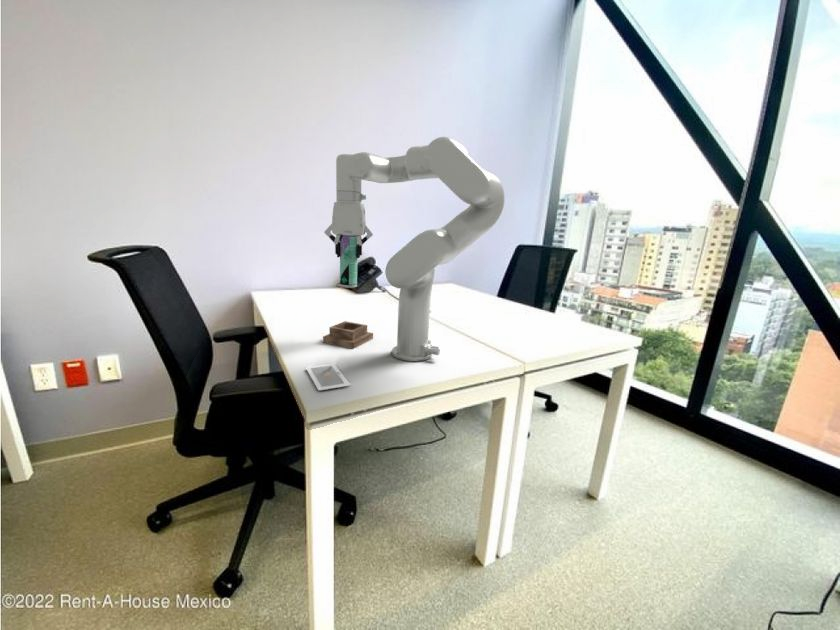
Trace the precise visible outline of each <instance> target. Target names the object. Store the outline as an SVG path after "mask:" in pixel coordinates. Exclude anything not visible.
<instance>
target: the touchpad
mask: <svg viewBox="0 0 840 630" xmlns="http://www.w3.org/2000/svg"><path fill="white" fill-rule="evenodd" d="M305 369H306V371H307V372H308V374H309V376H310V379H311V380H312V381H313V383H314V385H315V387H316V388H317V390H318V391H323V390H324V391H325V390H330V389H336V388H343V387H347V386H348V387H349V386H351V383H349V381H348V380H347V378H346V377H345V376H344V375H343V373H342V372H341V370H340V369H339V368H338V366H336V364H335V363H329V364H327V363H326V364H322V365H314V366H313V365H312V366H307V367H305Z"/></svg>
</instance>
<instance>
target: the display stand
mask: <svg viewBox="0 0 840 630" xmlns="http://www.w3.org/2000/svg"><path fill="white" fill-rule="evenodd" d="M373 339H374V333H373V332H369V331H368V324H362V323H359V322H358V323H357V322H352V321H346V320H344V321H342V322H340V323H337V324H335V325H332V326H329V333H327V334H325V335H323V336H322V342H323V343H325V344H328V345H329V344H330V345H335V346H338V345H339V346H340V347H343V346H344V347H345V348H350V349H354V348H355V349H357V348H358V347H360V346H363V345H364V344H366V343H368V342H369V341H371V340H373Z"/></svg>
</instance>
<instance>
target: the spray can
mask: <svg viewBox="0 0 840 630" xmlns="http://www.w3.org/2000/svg"><path fill="white" fill-rule="evenodd" d="M343 232H344V233H342V235H340V257H339V286H340V287H341V288H347V289H348V288H352V289H353V288H357V287H358V258H357V245H358V241H357V238H356V236H355V235H354V234H353V232H352V231H343Z"/></svg>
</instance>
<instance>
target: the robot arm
mask: <svg viewBox="0 0 840 630" xmlns="http://www.w3.org/2000/svg"><path fill="white" fill-rule="evenodd" d="M335 164H336V166H335V169H336V171H335V172H336V173H335V174H336V179H335V180H336V181H335V182H336V183H335V184H336V187H335V188H336V190H335V191H336V192H335V193H336V196H335V197H336V201H333V208H332V216H331V217H332V218H331V224H330V225H329V226H328V227H327V228H326V229H325V231H324V234H325V235H326V236H327V237H328V238H329V239H330V240H331V241H332V242H333V244H334V247H335V248H334V252H335V253H334V254H335V255H336V258H340V235H342V233H344V232H343V231H352V232H353V234H354V235H355V236H356V238H357V241H358V245H357V259H360V258H361V256H363V245H364V244H365V243H366V242H367V241H368V240H369V239H371V238H372V237H373V236H374V233H373V232H372V231H371V230H370V228H369V227H368V226H367V225H366V224H367V223H366V208H365V205H364V203H362V201H363V200H364V201H365V200H366V199H367V195H366V194H363V193H362V181H368V182H373V183H378V184H394V183H397V184H398V183H405V182H412V181H418V180H428V179H432V180H433V179H439V180H440V181H441V182H442V183H443V184H444V185H445V186H446V187H447V188H448V189H449V190H450V191H452V193H453V194H454V195H455V196H457V198H458V199H460V200H461V201H462V202H464V203H466V204H469V205H468V207H467V208H466V209H464V210H463V211H461V212H460V213H458V214H457V215H455V217H453V218H452V219H451V220H450V221H449V222H448V223H446V224H445V225H444V226H442V227H441V228H435V229H434V228H433V229H427V230H424V231H422V232H421V233H420V232H419V234H416V236H415V237H414V238H412V239H411V240H409V242H408V243H406V244H405V245H404V246H402V247H401V249H399V250H398V251H397V252H396V253H395V254H394V255H392V257H390V259H388V261H387V263H386V267H385V272H384V273H385V278H386V280H387V282H388V283H389V285H390V286H392V287H394V288H396V289H398V290H400V291H399V296H398V307H397V311H398V313H397V335H396V336H397V338H396V346H394V347H393V348H392V349H391V354H392V357H395V359H398V360H402V361H407V362H421V361H427V360H429V359H430V358H432V356H433V355H435V356H439V355H440V352H441V349H440V348H439V346H436V345H432V341H431V340H430V339H429V328H430V327H429V325H430V311H431V310H430V308H431V297H432V289H433V284H434V278H435V271H436V270H435V268H436V267H438V266H441V265H445V264H448V263H450V262H451V261H453V260H454V259H455V258H457V257H458V256H459V254H461V253H463V252H464V251H465V250H466V249H468V248H469V247H470V246H471V245H473V244H474V243H475V242H476V241H477V240H479V239H480V238H481V237H482V236H483V235H485V234H486V233H487V232H488V231H489V230H491V229H492V228H493V227H494V225H495V224H496V223H497V222H498V220H499V219H500V218H501V215H502V213H503V209H504V207H505V191H504V186H503V184H502V181H501V180H500V179H499V178H498V177H497V176H496V175H495V174H493V173H492V172H489V171H487V170H485V169H483V168H482V167H481V166H480V165H479V164H477V163H476V162H475V161H474V160H473V158H471V157H470V156H469V152H468V150H467V148H466V147H465V146H464V145H463V144H461V143H459V142H458V141H456V140H454V139H453V138H450V137H448V136H440V137H437V138H435V139H432V140H431V142H429V144H428V145H419V146H416V145H415V146H411V147H409V148H408V149H407V151H406V153H405V154H403V155H399V156H392V157H391V156H390V157H389V156H388V157H385V156H384V157H383V156H380V155H377V154H374V153H371V152H367V151H366V152H365V151H363V152H358V153H357V152H356V153H353V154H351V153H350V154H349V153H348V154H347V153H342V154H339V155H337V156H336V161H335ZM365 234H366V235H365ZM364 235H365V236H364ZM362 236H364V237H363V238H362Z"/></svg>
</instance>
